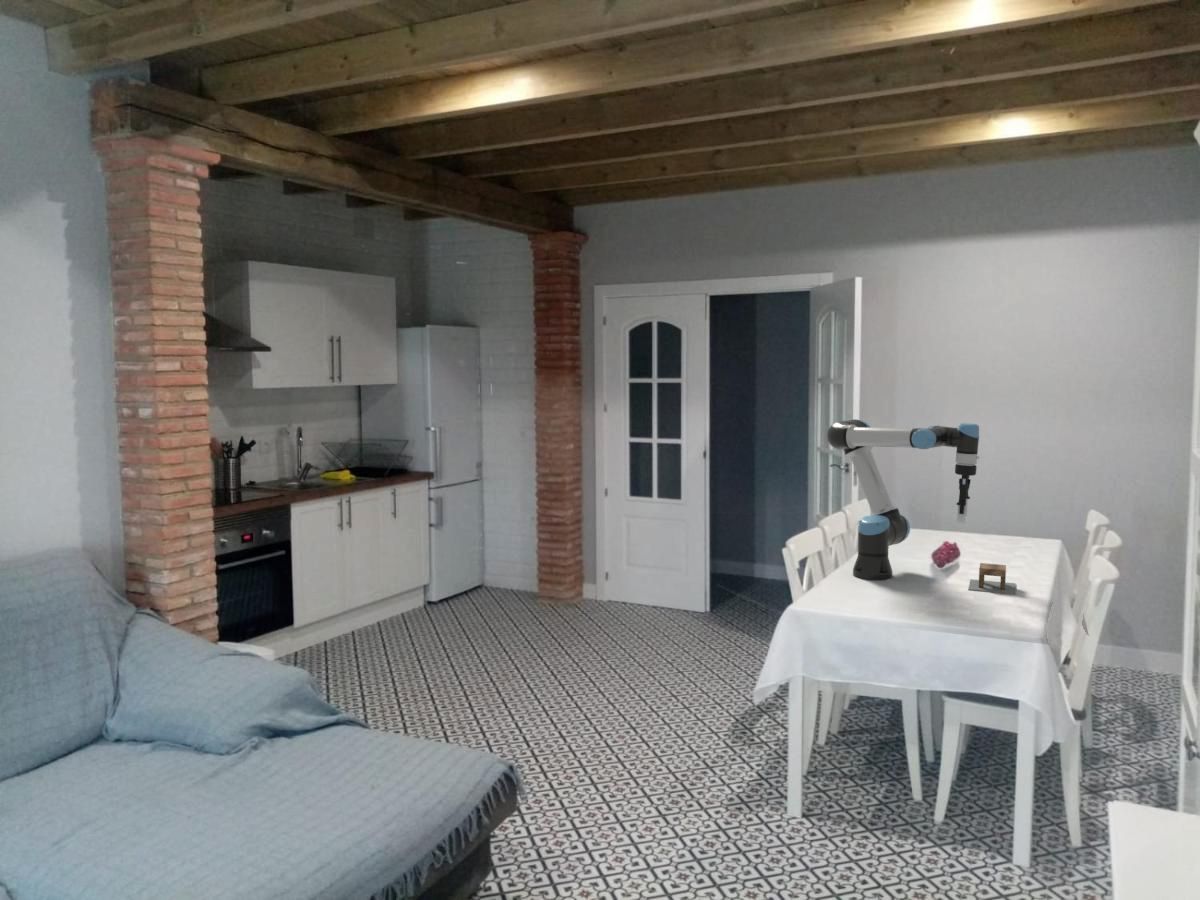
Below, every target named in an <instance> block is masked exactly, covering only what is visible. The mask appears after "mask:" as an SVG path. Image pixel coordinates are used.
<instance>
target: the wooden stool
mask: <svg viewBox="0 0 1200 900" xmlns="http://www.w3.org/2000/svg"><path fill="white" fill-rule="evenodd" d="M978 570H979V571H978V580H979V588H983V586H984V581H985V576H992V577H1000V581H999V582H1000V590H1005V582H1006V574H1007V573H1006V572H1007V565H1006V564H999V563H998V564H996V563H983V562H980V563H979V569H978Z"/></svg>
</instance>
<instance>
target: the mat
mask: <svg viewBox="0 0 1200 900" xmlns="http://www.w3.org/2000/svg"><path fill="white" fill-rule="evenodd" d="M1000 582H1001V581H995V580H993V581H992V580H984V586H983V588H979V579H970V580H969V584H968V591H973V592H974V591H975V592H985V593H996V594H997V593H998V594H1006V595H1007V594H1008V595H1016V587H1017V584H1016V582H1015V583H1014V582H1006V581H1005V590H1000Z"/></svg>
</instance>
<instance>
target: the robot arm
mask: <svg viewBox="0 0 1200 900" xmlns="http://www.w3.org/2000/svg"><path fill="white" fill-rule="evenodd" d="M957 426H958V427H953V426H952V427H950V426H943V425H942V426H941V425H930V426H928V428H926V427H925V428H924V427H923V428H918V427H917V428H914V427H913V428H910V427H871V425H869V423H867V421H864V420H861V419H849V420H842V421H841V420H840V421H835V422H834V423H832V424H830V426H829V428H828V429H827V432H826V438H827V441H828V443H829V445H830V446H831V447H832V448H834V449H837V450H843V452H844V455H845V457H847V458H850V460H851V463H852V465H853V468H854V469H855V473H856V474H857V477H858V480H859V483H860V485H861V487H862V490H863V493H864V495H865V498H866V500H867V502H868V503H867V504H868V506H869V508H870V510H871V515H866V516H863V517H861V518H860V519H859V520H858V526H857V527H858V528H857V531H858V532H857V535H858V537H857V541H858V542H857V556H856V559H855V563H854V565H853V569H852V575H853V576H854V577H856V578H860V579H865V580H875V581H878V580H888V579H892V578H893V568H892V565H891V562H890V559H889V548H890V547H889V546H893V545H897V544H901V543H902V542H903V541H906V539H907V538H908V537H909V534H910V533H911V526H910V525H911V524H910V522H909V520H908V518H907V517H906V516H905V515H903V514H901V513H900V511H899V508H898V507H897V506H895V505H893V503H892V500H891V499H890V495H889V493H888V490H887V488H886V486H885V483H884V481H883V478H882V475H881V473H880V470H879V469H878V468H879V467H878V465H877V463H876V460H875V458H874V456H873V454H872V449H873V447H874V448H875V447H877V448H878V447H879V448H882V447H883V448H904V449H905V448H907V449H912V448H914V449H919V450H928V449H929V450H930V449H933V448H940V447H949V448H956V450H955V451H956V452H955V463H956V464H955V467H954V473H955V475H959V476H961V477H960V478H959V481H958V489H959V493H958V494H959V496H958V501H957V502H956V505H957V518H956V519H957V520H956V522H957V523H964V524H965V523H966V517H967V515H968V503H969V500H970V499H971V497H970V495H969V490H970V486H971V481H972V480H971V479H970V476H972V477H973V476H976V475H977V467H978V466H977V465H976V464H978V460H979V459H980V457H979V456H978V452H979V451H978V450H979V443H980V442H979V441H980V440H979V439H980V425H978V424H976V423H969V422H967V423H966V422H963V423H959V424H958V425H957Z"/></svg>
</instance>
